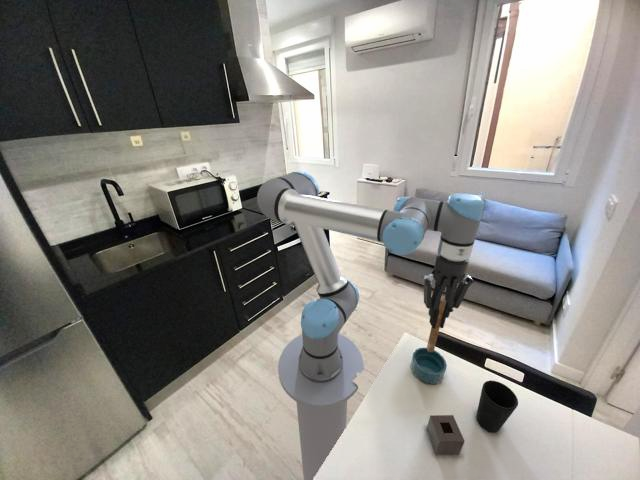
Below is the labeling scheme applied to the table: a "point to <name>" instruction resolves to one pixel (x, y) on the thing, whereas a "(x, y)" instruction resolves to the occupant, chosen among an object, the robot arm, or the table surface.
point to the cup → (495, 406)
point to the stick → (435, 330)
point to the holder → (445, 435)
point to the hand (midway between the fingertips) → (436, 324)
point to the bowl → (428, 365)
